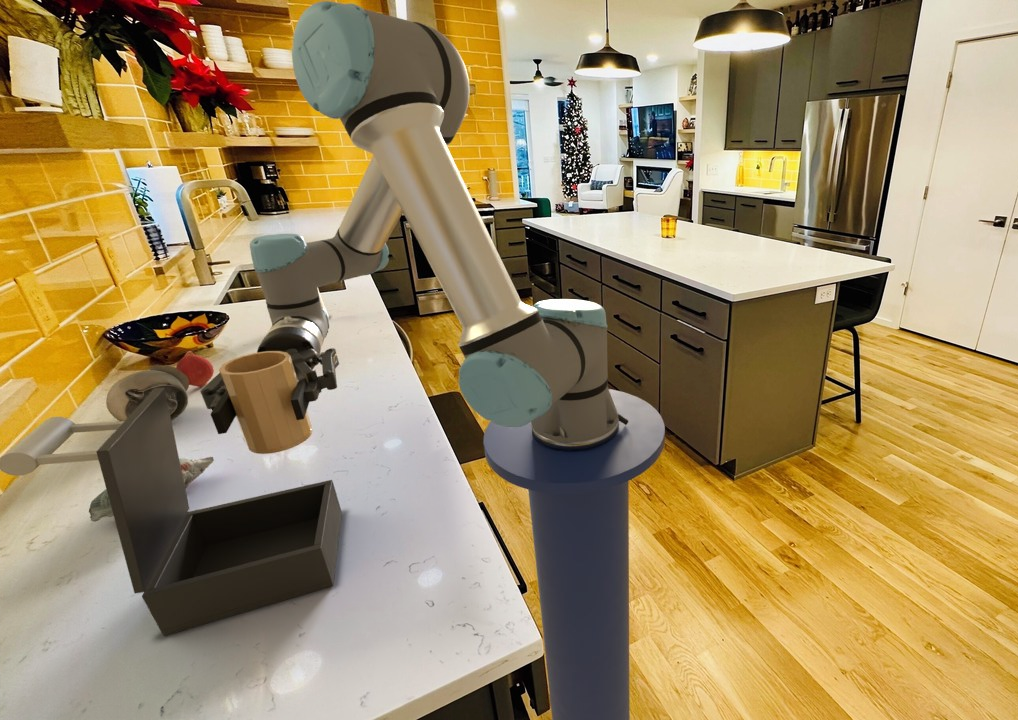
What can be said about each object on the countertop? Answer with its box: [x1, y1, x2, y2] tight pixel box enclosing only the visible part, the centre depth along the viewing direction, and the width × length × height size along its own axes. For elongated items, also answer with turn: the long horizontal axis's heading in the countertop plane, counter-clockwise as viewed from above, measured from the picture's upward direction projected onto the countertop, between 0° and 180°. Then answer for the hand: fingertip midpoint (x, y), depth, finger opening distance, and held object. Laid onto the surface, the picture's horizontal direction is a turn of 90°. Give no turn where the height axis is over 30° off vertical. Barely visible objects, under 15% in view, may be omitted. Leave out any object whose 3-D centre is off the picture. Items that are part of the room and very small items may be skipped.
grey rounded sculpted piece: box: [105, 364, 190, 422], centre depth 89 cm, size 10×12×10 cm
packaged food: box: [88, 456, 215, 523], centre depth 71 cm, size 9×12×5 cm
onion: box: [175, 350, 215, 388], centre depth 103 cm, size 6×6×8 cm
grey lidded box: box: [141, 479, 343, 637], centre depth 60 cm, size 16×14×6 cm
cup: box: [218, 351, 313, 455], centre depth 63 cm, size 7×7×11 cm
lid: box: [0, 388, 190, 594], centre depth 51 cm, size 16×14×9 cm
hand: (258, 416), depth 59 cm, fingers closed on cup, 7 cm apart
